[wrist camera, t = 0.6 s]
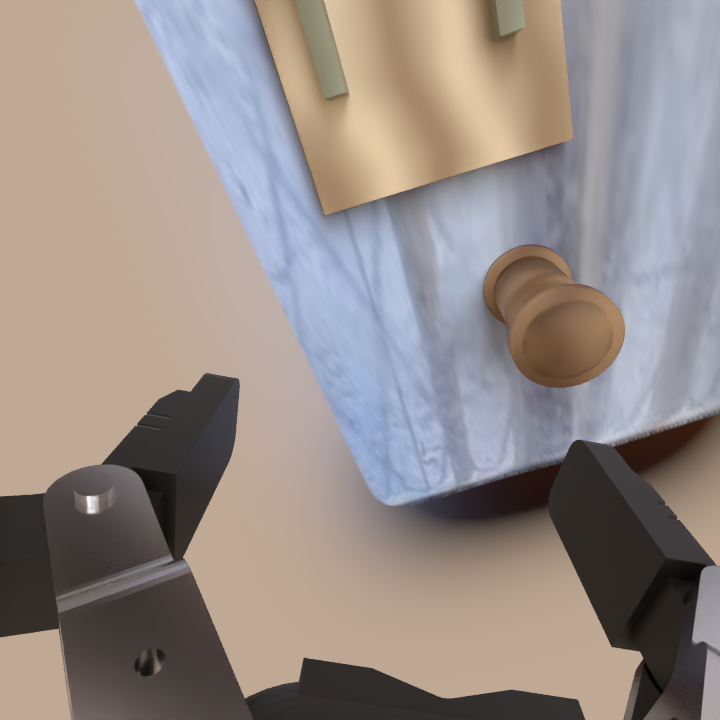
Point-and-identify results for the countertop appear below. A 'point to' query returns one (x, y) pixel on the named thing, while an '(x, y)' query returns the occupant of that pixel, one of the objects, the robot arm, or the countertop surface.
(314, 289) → the countertop surface
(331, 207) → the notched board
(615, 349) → the wooden bobbin
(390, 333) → the countertop surface
